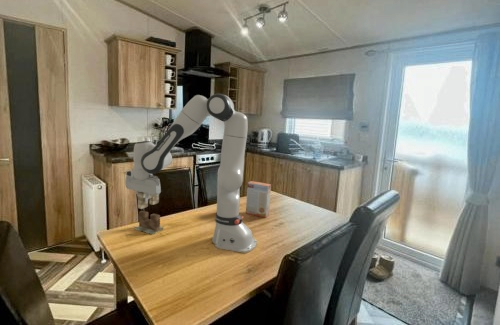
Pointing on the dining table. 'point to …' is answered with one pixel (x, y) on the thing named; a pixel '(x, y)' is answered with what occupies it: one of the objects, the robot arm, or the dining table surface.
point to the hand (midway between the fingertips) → (142, 200)
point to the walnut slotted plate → (149, 223)
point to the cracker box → (258, 199)
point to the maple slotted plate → (143, 204)
